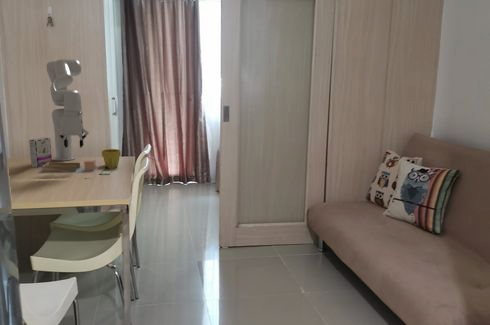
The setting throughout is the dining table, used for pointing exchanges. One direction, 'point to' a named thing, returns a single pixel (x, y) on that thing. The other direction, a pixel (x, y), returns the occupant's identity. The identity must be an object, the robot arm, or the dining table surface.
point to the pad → (105, 173)
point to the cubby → (60, 167)
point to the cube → (90, 165)
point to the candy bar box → (40, 152)
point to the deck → (78, 170)
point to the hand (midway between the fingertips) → (73, 146)
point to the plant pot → (111, 157)
